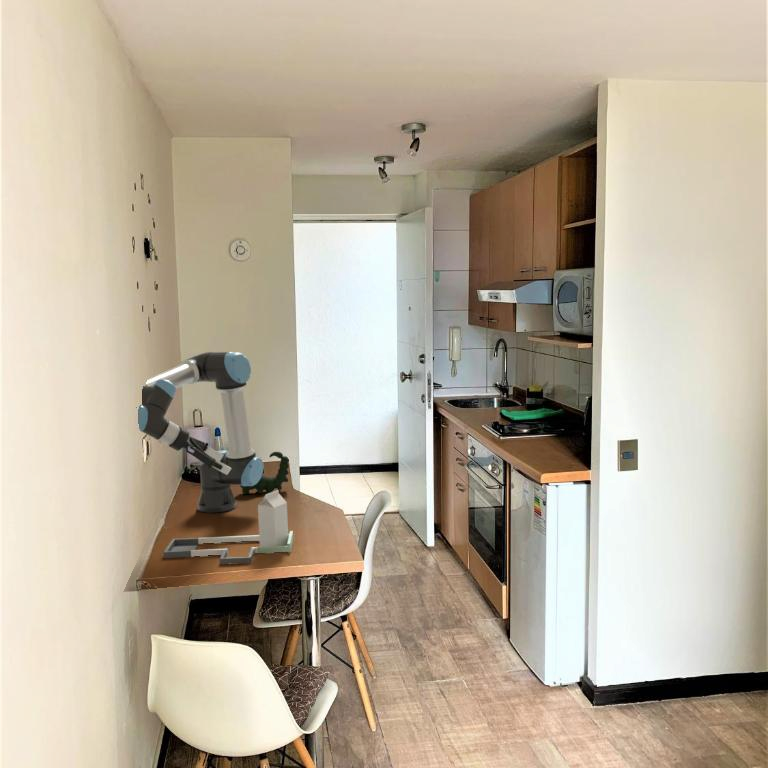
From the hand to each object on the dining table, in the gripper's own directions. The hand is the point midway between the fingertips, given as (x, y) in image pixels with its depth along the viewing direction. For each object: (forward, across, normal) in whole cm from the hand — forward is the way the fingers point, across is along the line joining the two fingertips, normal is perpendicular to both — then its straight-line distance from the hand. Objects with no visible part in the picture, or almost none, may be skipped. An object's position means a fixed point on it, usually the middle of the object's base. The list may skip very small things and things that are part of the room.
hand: (225, 464), depth 272 cm
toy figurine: (+41, -52, -14) cm, 68 cm away
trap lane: (+11, +20, -21) cm, 31 cm away
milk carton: (+24, +21, -12) cm, 34 cm away
